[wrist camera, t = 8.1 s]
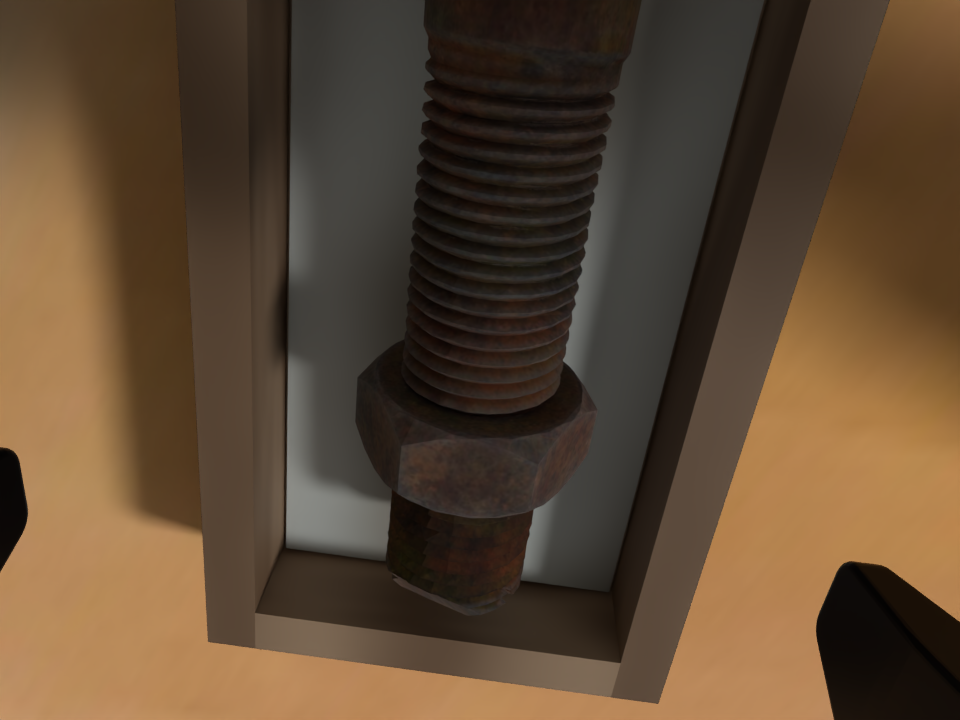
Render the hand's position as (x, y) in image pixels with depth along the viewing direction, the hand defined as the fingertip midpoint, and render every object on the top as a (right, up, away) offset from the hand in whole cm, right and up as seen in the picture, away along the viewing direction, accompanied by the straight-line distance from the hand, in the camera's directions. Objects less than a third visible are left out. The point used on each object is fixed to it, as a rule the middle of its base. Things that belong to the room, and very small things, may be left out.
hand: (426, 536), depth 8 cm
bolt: (+1, +5, +8) cm, 10 cm away
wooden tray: (+1, +5, +10) cm, 11 cm away
